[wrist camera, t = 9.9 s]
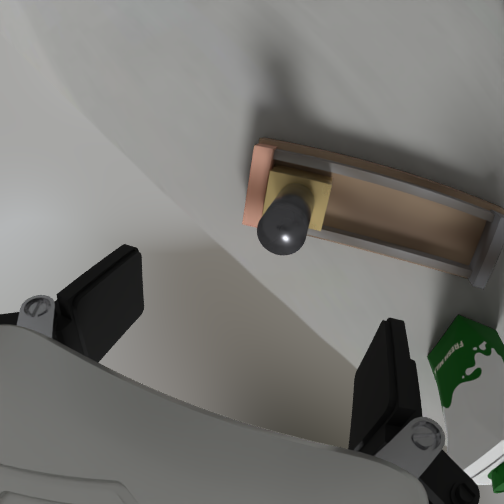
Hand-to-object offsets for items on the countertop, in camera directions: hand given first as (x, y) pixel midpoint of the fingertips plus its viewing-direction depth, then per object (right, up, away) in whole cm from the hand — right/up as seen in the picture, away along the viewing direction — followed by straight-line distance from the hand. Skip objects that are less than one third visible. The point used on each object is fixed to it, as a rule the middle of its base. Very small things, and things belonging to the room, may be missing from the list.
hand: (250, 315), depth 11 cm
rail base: (+12, +6, +17) cm, 22 cm away
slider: (+4, +8, +17) cm, 19 cm away
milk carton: (+26, -9, +20) cm, 34 cm away
